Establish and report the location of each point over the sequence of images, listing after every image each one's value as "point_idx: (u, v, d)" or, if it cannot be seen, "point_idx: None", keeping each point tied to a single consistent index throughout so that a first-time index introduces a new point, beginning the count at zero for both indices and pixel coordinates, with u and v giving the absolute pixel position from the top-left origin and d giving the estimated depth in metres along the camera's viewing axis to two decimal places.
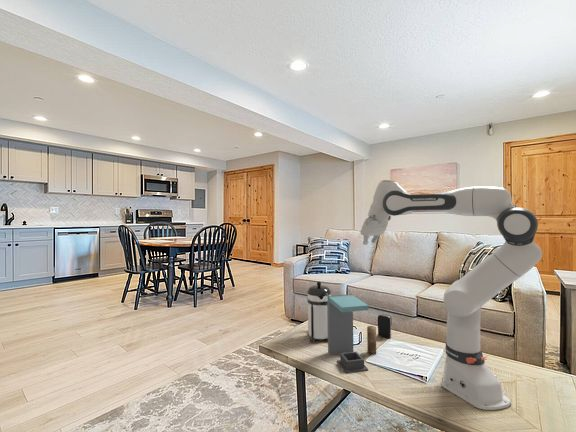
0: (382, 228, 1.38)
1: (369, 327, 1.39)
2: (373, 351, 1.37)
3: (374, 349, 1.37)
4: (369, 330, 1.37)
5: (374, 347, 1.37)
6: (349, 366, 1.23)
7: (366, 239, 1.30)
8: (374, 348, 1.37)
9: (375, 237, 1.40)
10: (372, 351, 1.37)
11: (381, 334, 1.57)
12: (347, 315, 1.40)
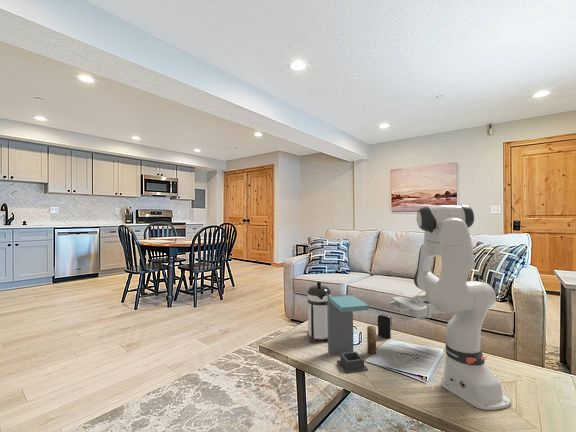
0: (415, 306, 1.37)
1: (369, 327, 1.39)
2: (373, 351, 1.37)
3: (374, 349, 1.37)
4: (369, 330, 1.37)
5: (374, 347, 1.37)
6: (349, 366, 1.23)
7: None
8: (374, 348, 1.37)
9: None
10: (372, 351, 1.37)
11: (381, 334, 1.57)
12: (347, 315, 1.40)
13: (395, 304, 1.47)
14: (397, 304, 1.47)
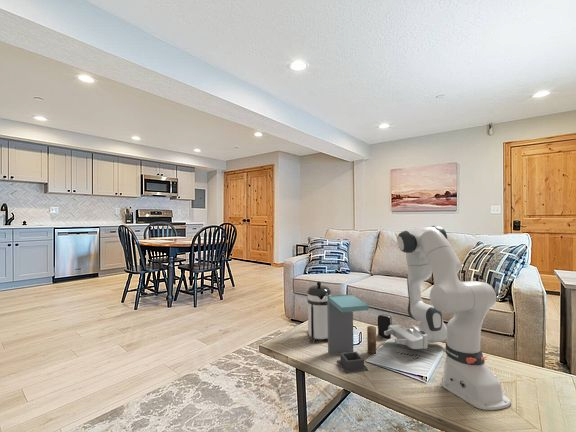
0: (411, 336, 1.37)
1: (369, 327, 1.39)
2: (373, 351, 1.37)
3: (374, 349, 1.37)
4: (369, 330, 1.37)
5: (374, 347, 1.37)
6: (349, 366, 1.23)
7: None
8: (374, 348, 1.37)
9: None
10: (372, 351, 1.37)
11: (381, 334, 1.57)
12: (347, 315, 1.40)
13: (391, 333, 1.47)
14: (393, 333, 1.47)
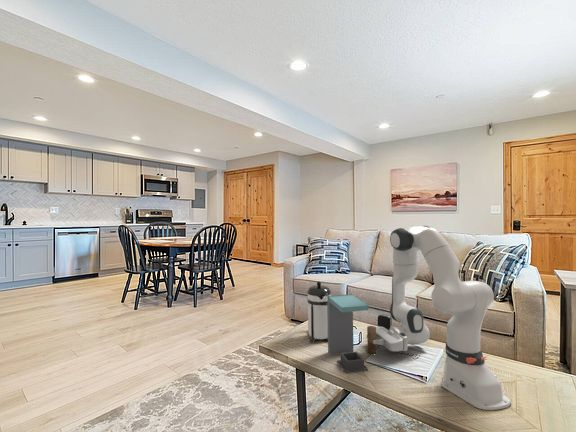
0: (391, 338, 1.35)
1: (369, 327, 1.39)
2: (373, 351, 1.37)
3: (374, 349, 1.37)
4: (369, 330, 1.37)
5: (374, 347, 1.37)
6: (349, 366, 1.23)
7: None
8: (374, 348, 1.37)
9: None
10: (372, 351, 1.37)
11: None
12: (347, 315, 1.40)
13: None
14: None
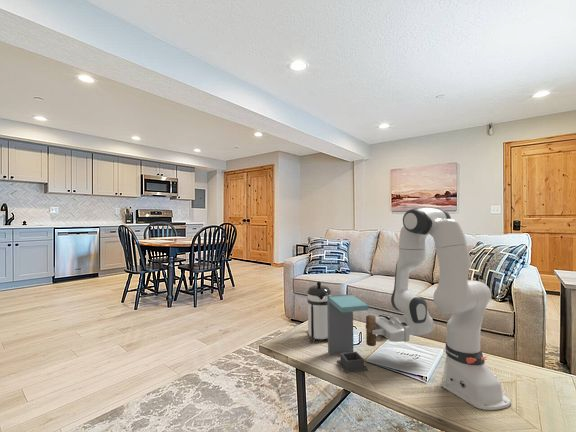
0: (392, 328, 1.25)
1: (368, 317, 1.29)
2: (373, 342, 1.27)
3: (373, 340, 1.28)
4: (368, 319, 1.28)
5: (373, 338, 1.28)
6: (349, 366, 1.23)
7: None
8: (373, 339, 1.28)
9: None
10: (371, 342, 1.27)
11: None
12: (347, 315, 1.40)
13: None
14: None
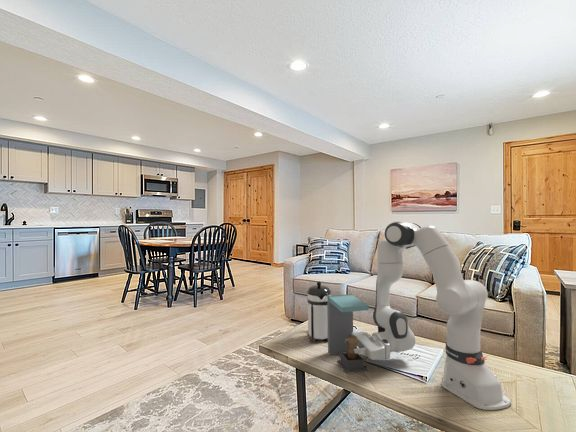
0: (372, 346, 1.23)
1: (350, 337, 1.27)
2: None
3: None
4: (350, 340, 1.25)
5: (354, 358, 1.25)
6: (349, 366, 1.23)
7: None
8: (354, 359, 1.25)
9: None
10: None
11: None
12: (347, 315, 1.40)
13: None
14: None
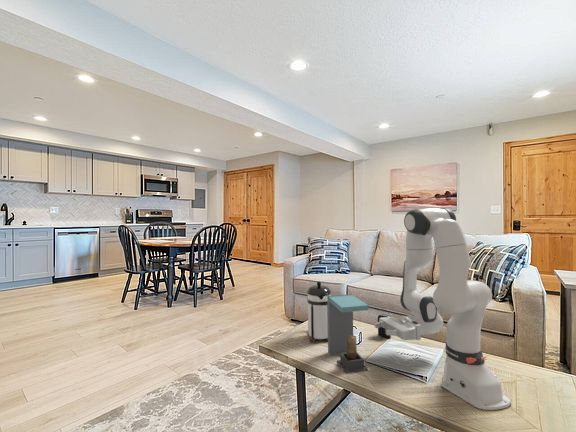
0: (403, 327, 1.26)
1: (349, 337, 1.27)
2: None
3: None
4: (349, 339, 1.26)
5: (354, 358, 1.26)
6: (349, 366, 1.23)
7: None
8: (354, 359, 1.26)
9: None
10: None
11: (381, 334, 1.57)
12: (347, 315, 1.40)
13: (382, 325, 1.36)
14: (384, 325, 1.36)
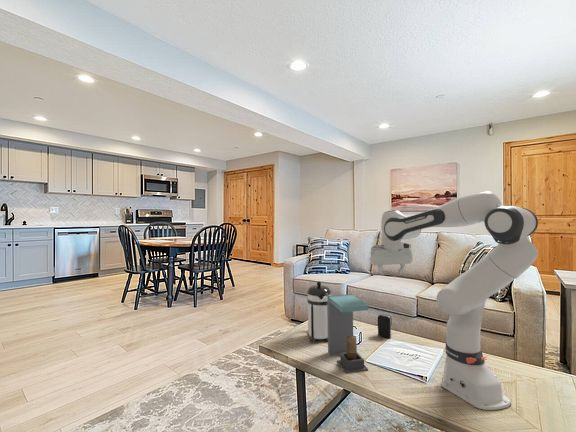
0: (404, 257, 1.39)
1: (349, 337, 1.27)
2: None
3: None
4: (349, 340, 1.25)
5: (354, 358, 1.26)
6: (349, 366, 1.23)
7: (380, 268, 1.38)
8: (354, 359, 1.26)
9: (401, 267, 1.41)
10: None
11: (381, 334, 1.57)
12: (347, 315, 1.40)
13: None
14: None
